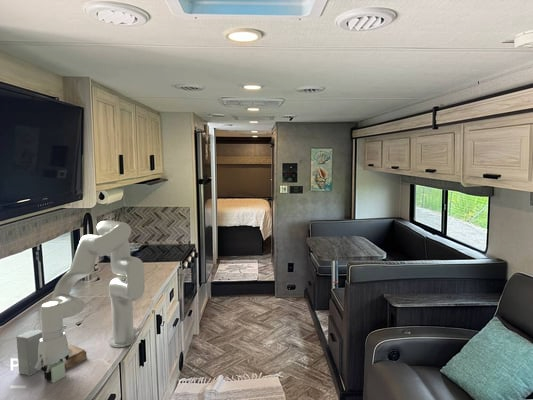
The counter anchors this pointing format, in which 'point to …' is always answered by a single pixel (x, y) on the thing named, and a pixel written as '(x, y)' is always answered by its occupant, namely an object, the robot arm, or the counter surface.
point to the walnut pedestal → (75, 355)
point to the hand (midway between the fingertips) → (55, 376)
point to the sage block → (57, 370)
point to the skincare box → (28, 351)
